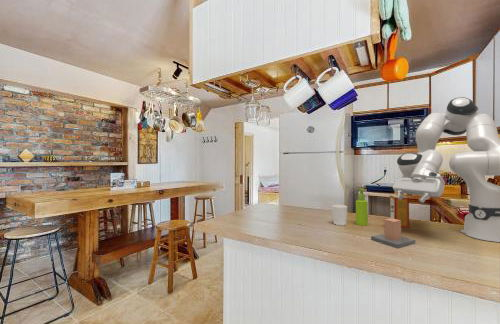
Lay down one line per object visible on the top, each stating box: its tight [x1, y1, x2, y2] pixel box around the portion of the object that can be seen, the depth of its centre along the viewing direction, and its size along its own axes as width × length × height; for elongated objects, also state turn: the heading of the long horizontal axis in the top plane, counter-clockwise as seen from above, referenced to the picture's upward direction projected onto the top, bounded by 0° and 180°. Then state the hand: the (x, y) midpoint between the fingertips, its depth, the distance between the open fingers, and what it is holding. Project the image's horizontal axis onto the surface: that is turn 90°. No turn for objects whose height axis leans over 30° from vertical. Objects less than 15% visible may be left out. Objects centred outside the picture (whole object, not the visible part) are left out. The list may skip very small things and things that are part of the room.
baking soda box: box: [389, 194, 410, 229], centre depth 131 cm, size 10×6×16 cm
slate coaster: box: [370, 233, 416, 249], centre depth 106 cm, size 12×12×2 cm
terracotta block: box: [383, 217, 402, 241], centre depth 105 cm, size 4×4×8 cm
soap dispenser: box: [355, 187, 369, 227], centre depth 134 cm, size 6×7×20 cm
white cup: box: [331, 204, 348, 226], centre depth 135 cm, size 8×8×10 cm
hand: (409, 200), depth 110 cm, fingers open, 8 cm apart
